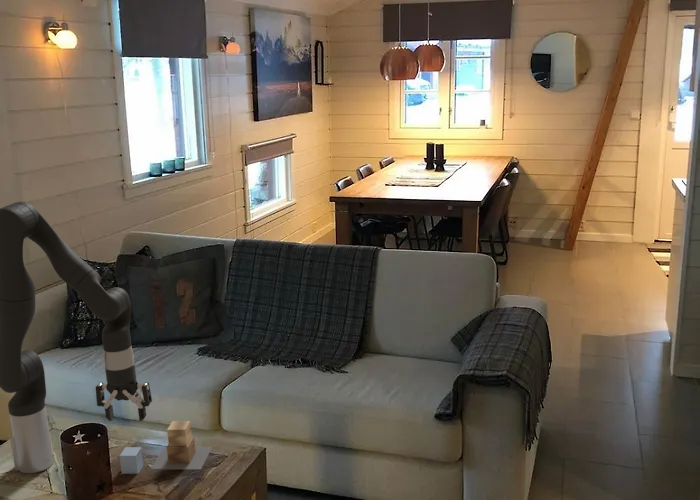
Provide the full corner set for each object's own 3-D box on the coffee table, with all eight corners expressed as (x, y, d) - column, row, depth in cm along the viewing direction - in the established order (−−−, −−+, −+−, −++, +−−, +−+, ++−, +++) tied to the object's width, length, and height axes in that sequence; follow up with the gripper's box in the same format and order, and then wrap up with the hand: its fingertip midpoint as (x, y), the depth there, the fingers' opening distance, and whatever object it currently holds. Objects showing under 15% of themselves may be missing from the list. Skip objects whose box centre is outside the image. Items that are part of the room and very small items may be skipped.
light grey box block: (122, 475, 202) (119, 455, 200) (128, 466, 206) (125, 447, 204) (138, 475, 201) (135, 455, 200) (143, 466, 206) (141, 447, 204)
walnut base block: (168, 463, 206) (166, 447, 204) (174, 452, 211) (173, 436, 210) (189, 463, 205) (188, 447, 204) (195, 452, 211) (194, 436, 210)
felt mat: (150, 471, 203) (150, 469, 203) (164, 448, 215) (164, 446, 215) (201, 471, 202) (200, 469, 202) (212, 448, 214) (212, 446, 213)
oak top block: (168, 446, 205) (167, 429, 204) (174, 437, 210) (172, 420, 208) (186, 446, 204) (185, 429, 203) (191, 437, 209) (190, 420, 208)
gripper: (87, 369, 193) (95, 426, 197) (141, 369, 191) (147, 426, 196) (99, 358, 200) (106, 413, 204) (150, 357, 199) (157, 413, 203)
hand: (126, 419), depth 200 cm, fingers open, 8 cm apart
